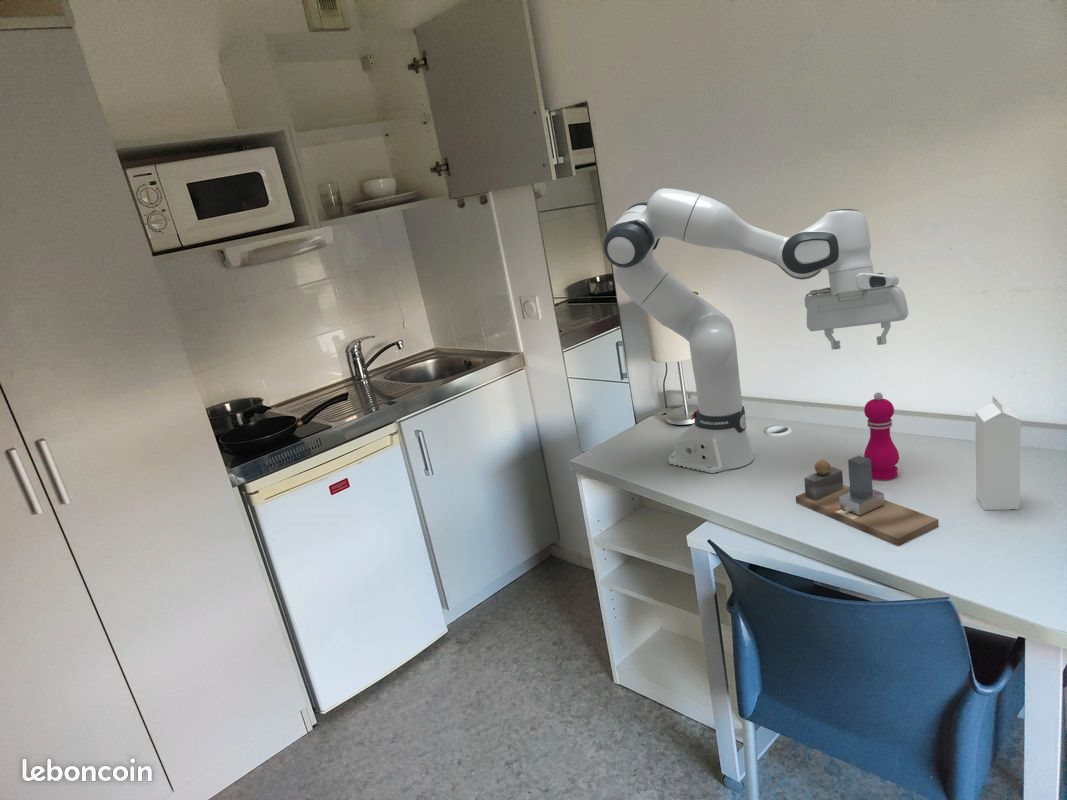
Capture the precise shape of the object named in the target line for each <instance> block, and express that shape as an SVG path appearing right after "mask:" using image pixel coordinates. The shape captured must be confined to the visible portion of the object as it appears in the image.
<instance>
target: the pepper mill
mask: <svg viewBox="0 0 1067 800" xmlns="http://www.w3.org/2000/svg"><path fill="white" fill-rule="evenodd" d="M883 396H884V395H883V394H882V393H881V392H875V393H874V395H873V399H870V400H868V401H867V402H866V403H865V405H864V411H863V413H864V416H865V417H866V418H867V421H866V422H867V427H868V428H869V431H870V433H869V434H870V435H869V439H868V443H867V444H866V447H865V449H864V453H863V457H865V458H869V459H871V470H872V480H875V481H890V480H893V479H896V478H897V476H898V466H896V465H897V464H898V463H899V461H900V455H899V452H898V451H899V450H898V449H897V447H896V445H895V443H894V442H893V440H892V437H891V427H892V426H893V423H892V422H893V419H892V417H893V416H894V414H895V407H894V405H893V403H892V402H891V401H890V400H888V399H885V398H884V397H883Z"/></svg>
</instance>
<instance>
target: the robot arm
mask: <svg viewBox="0 0 1067 800" xmlns="http://www.w3.org/2000/svg"><path fill="white" fill-rule="evenodd" d="M661 238H671V239H675V240H679V241H681V242H684V243H687V244H691V245H694V246H699V247H702V248H703V247H704V248H711V249H721V250H732V251H737V252H741V253H745V254H748V255H751V256H754V257H756V258H759V259H762V260H765V261H768V262H771V263H773V264H775V265H777V266H778V267H779V268H780V269H781V270H782V271H783V272H784V273H785V274H786V275H788V276H789V277H791V278H793V279H796V280H808V279H809V280H810V279H811V278H814V277H816V276H817V275H818V274H821V272H822V271H823V270H826V271H827V272H828V280H829V281H828V282H829V287H826V288H825V287H824V288H820V289H812V290H810V291H809V292H808V293H807V294H806V295H805V297H804V306H805V308H806V328H807V329H808V330H809V331H810V332H818V331H824V332H823V333H824V336H825V338H827V340H828V341H829V342H830V346H831V350H832V351H833V350H840V349H841V341H840V340H836V339H835V337H834V336H833V334H835V333H834V332H835V331H834V329H843V328H851V327H859V326H867V325H868V326H869V325H875V324H880V328H881V329H883V330H882V333H881V335H880V336H879V335H878V336H877V337H876V341H877V342H876V344H877V346H880V345H881V346H883V345H887V335H888V333H889V332H890V330H891V327H892V325H891V323H893V322H901V321H905V320H906V319H907V317H908V316H909V310H908V303H907V299H906V295H905V292H904V290H903V289H902V288H901V287H899V286H898V285H899V281H900V280H899V277H898V276H897V275H894V274H887V273H886V274H885V273H882V272H874V266H873V262H872V261H871V256H870V252H871V246H872V245H871V237H870V231H869V226H868V222H867V219H866V215H865V214H864V213H863V212H861V211H860V210H858V209H852V208H839V209H832V210H830V211H827V212H826V213H825V214H824V215H823V216H822V217H821V218H820V219H819V220H816V222H814V223H813V224H811V225H809V227H807V228H805V229H803V230H801V231H799V232H796V233H794V234H793V235H791V236H783V235H782V234H781V235H780V234H778V233H774V232H772V231H769V230H765V229H762V228H760V227H756V226H754V225H751V224H750V223H748V222H746V221H745V220H744V219H742V218H741V217H739V216H738V215H737V213H736V212H735V211H734V210H732V208H731V207H730V206H729V205H726V204H724V203H723V202H720V201H719V200H716V199H715V198H712V197H709V196H706V195H703V194H701V193H698V192H693V191H689V190H683V189H675V188H666V187H665V188H659V189H658V190H656V191H655V192H654V193H653V194H652V195H651V196H650V198H649V200H648V201H646V202H645V201H644V202H642V201H641V202H638V203H635V204H632V205H631V206H630V207H629V208H627V210H626V211H624V212H623V213H622V214H620V216H619V217H618V218H617V219H616V220H615V223H614V224H613V225H612V226H611V227H610V228H609V230H608V231H607V233H606V234H605V236H604V239H603V240H604V241H603V252H604V254H605V257H606V259H607V260H608V261H609V262H610V263H611V264H613V265H614V266H615V268H614V272H613V276H614V280H615V282H616V283H617V285H618V286H619V287H620V288H621V289H622V291H623V292H624V293H625V294H626V295H627V296H628V297H629V299H631V300H632V301H633V302H635V303H636V304H637V306H639V307H640V308H641V309H642V310H644V311H645V312H646V313H647V314H648V315H650V316H651V317H652V318H653V319H655V321H657V322H658V323H659V324H660V325H662V326H663V327H664V328H665V327H666V328H667V329H669V330H671V331H672V332H674V333H676V334H677V335H679V336H681V337H682V338H684V339H685V340H686V341H687V342H689V352H690V358H691V366H692V372H693V376H694V381H695V383H694V384H695V389H696V398H697V404H698V405H697V406H698V407H697V409H696V410H695V411H694V412H693V413H692V414H691V415H690V421H693V420H694V423H693V424H691V425H690V426H689V427H688V428H687V429H686V430H685V431H683V432H682V433H681V434H680V435H679V437H678V438H677V439H676V444H675V450H674V451H672V453H670V455H669V457H668V464H669V465H671V464H673V465H672V466H676V465H678V466H677V467H680V466H683V467H682V468H685V467H687V468H686V469H690V468H692V469H691V470H694V469H697V470H696V471H699V470H701V472H703V471H705V473H708V472H709V474H716V472H717V473H719V472H723V471H728V470H734V469H738V468H739V469H740V468H742V467H744V466H748V465H749V464H751V463H752V462H753V461H754V460H755V454H754V452H753V450H752V447H751V443H750V441H749V437H748V433H747V417H746V410H745V406H744V405H743V398H742V391H741V389H742V387H741V381H740V371H739V359H738V351H737V342H736V340H737V339H736V334H735V330H734V325H733V323H732V321H731V319H730V318H729V317H728V316H726V314H724V313H723V312H721V311H720V310H719V309H718V308H716V307H715V306H713V305H712V304H711V303H709V301H706V300H705V299H704V298H703V297H702V296H701V297H700V296H699V295H698V294H696V293H695V292H694V291H692V290H691V289H690V288H689V287H687V286H686V285H685V284H684V283H683V282H681V281H680V280H679V279H678V278H677V277H675V276H674V275H673V274H672V273H671V272H669V271H668V270H667V269H666V268H664V267H663V265H661V264H660V263H658V261H657V260H656V259H655V256H654V253H653V251H655V250H656V249H657V247H658V245H659V242H660V240H661Z"/></svg>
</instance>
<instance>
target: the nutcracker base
mask: <svg viewBox="0 0 1067 800" xmlns="http://www.w3.org/2000/svg"><path fill="white" fill-rule="evenodd" d="M814 470H815V471H816V472H815V473H812V474H810V475H807V476H805V477H804V479H803V480H804V490H805V491H804V492H803V493H801V494H798V495H795V503H796V502H797V503H796V504H798V503H799V504H798V505H801V506H803V507H806V508H808V509H811V510H813V511H816V512H818V513H820V514H822V515H824V516H828V517H829V518H832V519H834V520H837V521H839V522H841V523H844V524H846V525H848V526H851V527H853V528H855V529H857V530H860V531H863V532H865V533H867V534H870V535H872V536H873V537H876V538H879V539H881V540H883V541H886V542H888V543H890V544H893V545H895V546H898V547H899V546H901V545H903V544H904V543H907V542H909V541H911V540H913V539H915V538H917V537H919V536H921V535H923V534H926V533H927V532H930V531H931V530H934V529H936V528H938V527H939V518H936V517H934V516H930V515H928V514H925V513H923V512H920V511H917V510H913V509H912V508H909V507H906V506H903V505H900V504H897V503H896V502H895V503H894V502H891V501H889V500H886V499H884V503H885V504H884V505H882V506H879V507H877V508H875V509H873V510H871V511H868V512H866V513H864V514H862V515H857V514H855V513H853V512H850V513H845V509H843V508H840V500H839V497H840V496H842V495H844V494H847V493H849V492H850V486H847V485H845V484H844V478H843V470H842V469H841V468H837V467H833V466H831V464H830V462H829V461H827V460H825V459H819V460H818V461H816V463H815V464H814Z"/></svg>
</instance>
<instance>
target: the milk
mask: <svg viewBox="0 0 1067 800" xmlns="http://www.w3.org/2000/svg"><path fill="white" fill-rule="evenodd" d="M991 400H992V402H991V403H989V404H986V405H985V406H983V407H981V408H979V409H978V410H976V411H975V492H976V493H975V497H976V499H977V500H978V502H979V504H980V505H981V507H982V508H983V510H984V511H1002V510H1003V511H1005V510H1007V511H1008V510H1009V511H1010V510H1011V509H1016V510H1020V503H1021V502H1020V499H1021V495H1020V492H1021V491H1020V490H1021V488H1020V487H1021V479H1020V478H1021V419H1020V417H1019V416H1017V414H1015V412H1013V410H1012V409H1011V408H1008V407H1006V406H1003V404H1002V403H1001V402H1000V401H999V399H998V398H996V396H995V395H992V399H991Z"/></svg>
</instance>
